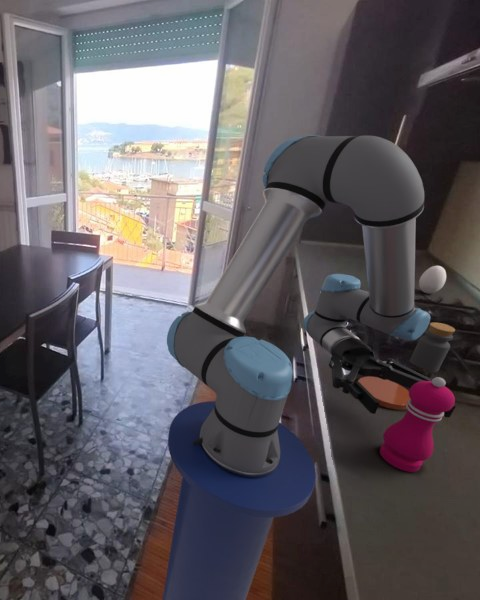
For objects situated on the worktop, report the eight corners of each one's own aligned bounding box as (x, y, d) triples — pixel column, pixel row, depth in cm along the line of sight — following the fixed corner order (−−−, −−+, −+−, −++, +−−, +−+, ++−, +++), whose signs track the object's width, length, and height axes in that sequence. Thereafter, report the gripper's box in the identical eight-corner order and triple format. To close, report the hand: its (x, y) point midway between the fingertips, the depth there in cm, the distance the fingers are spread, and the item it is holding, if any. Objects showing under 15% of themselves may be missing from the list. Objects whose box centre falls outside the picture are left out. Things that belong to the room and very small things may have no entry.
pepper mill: (408, 479, 67) (454, 395, 59) (368, 451, 73) (404, 371, 65) (431, 467, 70) (478, 385, 61) (390, 440, 76) (428, 362, 67)
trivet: (366, 405, 86) (369, 400, 85) (349, 377, 95) (351, 373, 95) (421, 413, 83) (424, 408, 82) (398, 384, 92) (400, 380, 92)
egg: (442, 294, 144) (455, 267, 139) (434, 298, 141) (446, 270, 136) (419, 288, 150) (431, 261, 145) (411, 291, 146) (422, 264, 142)
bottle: (439, 382, 93) (465, 333, 87) (413, 380, 94) (437, 331, 88) (423, 369, 98) (447, 322, 92) (400, 367, 99) (421, 320, 93)
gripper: (395, 364, 88) (473, 428, 69) (290, 360, 90) (339, 421, 71) (406, 338, 85) (492, 397, 66) (298, 335, 87) (350, 391, 68)
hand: (412, 410), depth 69 cm, fingers open, 13 cm apart
